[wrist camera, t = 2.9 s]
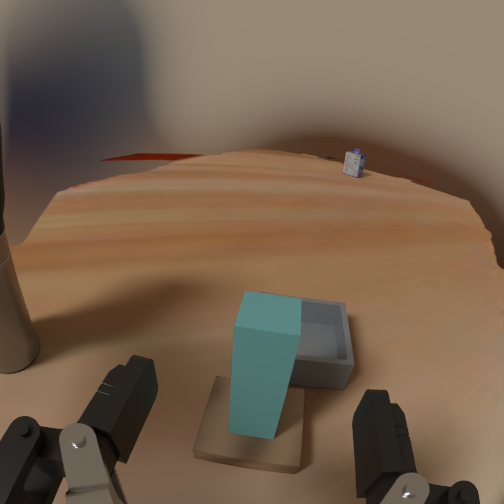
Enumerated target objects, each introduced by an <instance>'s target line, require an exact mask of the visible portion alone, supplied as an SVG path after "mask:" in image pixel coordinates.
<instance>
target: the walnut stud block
mask: <svg viewBox="0 0 504 504" xmlns="http://www.w3.org/2000/svg"><path fill="white" fill-rule="evenodd" d="M230 390H231V379H230V378H225V377H220V376H216V379H215V382H214V385H213V388H212V391H211V394H210V397H209V400H208V404H207V407H206V410H205V413H204V416H203V419H202V422H201V425H200V428H199V432H198V435H197V438H196V441H195V444H194V447H193V453H194V458H198V459H203V460H207V461H212V462H216V463H221V464H227V465H232V466H238V467H244V468H250V469H257V470H264V471H272V472H281V473H291V474H296V473H297V471H298V469H299V467H300V462H301V448H302V433H303V415H304V394H305V389H298V388H290V387H288V388H287V392H286V396H285V399H284V403H283V407H282V411H281V414H280V418H279V421H278V425H277V428H276V432H275V435H274V439H267V438H260V437H253V436H247V435H241V434H235V433H229V432H228V427H229V408H230Z"/></svg>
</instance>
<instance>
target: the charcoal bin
mask: <svg viewBox="0 0 504 504" xmlns="http://www.w3.org/2000/svg"><path fill="white" fill-rule="evenodd" d="M259 293H265V292H259ZM265 294H271V295H278V296H286V295H279V294H272V293H265ZM286 297H293V296H286ZM293 298H300V299H302V304H301V334H300V340H299V344H298V348H297V352H296V356H295V360H294V365H293V369H292V373H291V376H290V380H289V384H291V385H300V386H309V387H319V388H330V389H342V390H344V389H345V386H346V384H347V382H348V379H349V377H350V375H351V372H352V370H353V368H354V357H353V350H352V343H351V337H350V330H349V324H348V318H347V312H346V306H345V303H340V302H332V301H324V300H316V299H308V298H301V297H293Z"/></svg>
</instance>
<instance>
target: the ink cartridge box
mask: <svg viewBox="0 0 504 504" xmlns="http://www.w3.org/2000/svg"><path fill="white" fill-rule="evenodd" d="M356 150H358V151H359V152H357V151H356ZM360 151H361V150H360V149H355V150H354V152H349V151H347V152H346V157H345V163H344V169H343V173H345V174H348V175H351V176H354V177H362V175H363V169H364V164H365V157H366V156H365V155H362V154H359V153H360Z"/></svg>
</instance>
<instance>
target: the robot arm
mask: <svg viewBox="0 0 504 504" xmlns="http://www.w3.org/2000/svg"><path fill="white" fill-rule="evenodd" d="M3 182H4V181H3V165H2V135H1V125H0V372H1V373H13V372H16V371H19V370H21V369H23V368H25V367H26V366H28V365H29V364H30V363H31V362H32V361H33V360H34V359H35V357H36V356H37V354H38V351H39V346H40V345H39V340H38V337H37V335H36V332H35V329H34V327H33V324H32V321H31V318H30V316H29V313H28V310H27V307H26V304H25V301H24V298H23V295H22V292H21V289H20V285H19V282H18V279H17V275H16V272H15V268H14V264H13V260H12V256H11V252H10V249H9V244H8V240H7V236H6V231H5V226H4V221H3V211H4V201H5V193H4V183H3ZM157 391H158V383H157V378H156V372H155V367H154V362H153V360H152V359H148V358H144V357H141V356H137V355H133V356H132V357H131V358H130V360H129V361H128V363H127V365H126V366H123V365H120V364H119V365H118V366H116V367H115V368H114V369H112V370H111V371H110V372H109V373H108V374H107V376H106V377H105V379H104V380H103V383H102V384H101V385H100V387H99V388H98V391H97V392H96V393H95V395H94V396H93V398H92V400H91V401H90V403H89V404H88V406H87V408H86V409H85V411H84V413H83V414H82V416H81V418H80V419H79V420H78V422H77V423H74V424H70V425H68V426H67V427H65V428H64V429H56V428H49V427H42V426H39V424H38V423H37V421H36V420H35V419H33V418H31V417H28V416H21V417H18V418H16V419H15V420H14V421H13V422H12V423H11V424H10V426H9V428H8V429H7V431H6V432H5V434H4V436H3V437H2V439H1V441H0V504H52V503H53V500H54V498H55V495H56V493H57V491H58V488H59V486H60V484H61V482H62V479H63V477H66V479H67V483H68V488H69V490H68V491H67V492H66V501H67V504H128V502H127V499H126V496H125V494H124V491H123V488H122V486H121V483H120V480H119V477H118V474H117V471H116V469H115V464H116V462H117V461H120V462H123V463H125V464H126V463H127V461H128V459H129V456H130V454H131V452H132V450H133V447H134V445H135V443H136V441H137V438H138V436H139V434H140V432H141V430H142V427H143V425H144V423H145V421H146V419H147V416H148V414H149V412H150V410H151V408H152V405H153V403H154V401H155V399H156V396H157ZM352 429H353V441H354V455H355V470H356V490H357V498H366V504H480V500H479V494H478V490H477V488H476V487H475V485H474V484H472V483H471V482H469V481H459V482H457V483H455V484H454V485H452V486H451V487H447V486H440V485H434V484H430V483H428V482H427V480H426V479H425V478H424V477H423V476H421V475H420V474H418V473H417V471H416V467H415V462H414V456H413V451H412V446H411V441H410V437H409V432H408V427H407V423H406V419H405V414H404V413H403V411H402V410H401V408H400V407H399V405H398V404H397V403H390V399H389V394H388V392H387V390H371V389H368V390H366V392H365V394H364V396H363V398H362V399H361V401H360V403H359V405H358V407H357V409H356V411H355V413H354V416H353V422H352Z"/></svg>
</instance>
